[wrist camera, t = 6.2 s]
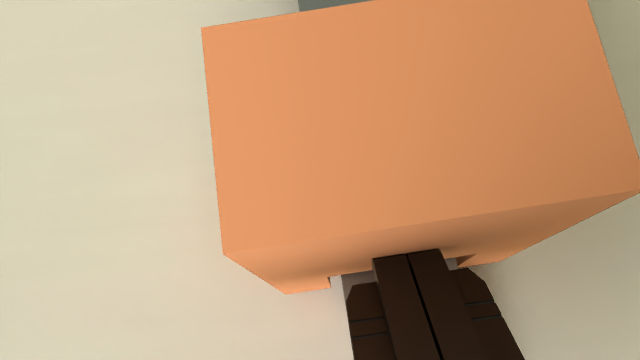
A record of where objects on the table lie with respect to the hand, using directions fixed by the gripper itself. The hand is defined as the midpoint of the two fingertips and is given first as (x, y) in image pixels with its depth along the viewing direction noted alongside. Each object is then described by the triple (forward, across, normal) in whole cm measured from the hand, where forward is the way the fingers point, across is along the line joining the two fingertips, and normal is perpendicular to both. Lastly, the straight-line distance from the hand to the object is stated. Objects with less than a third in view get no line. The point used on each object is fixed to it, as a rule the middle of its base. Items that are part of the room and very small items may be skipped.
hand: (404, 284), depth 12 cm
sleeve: (+5, 0, +2) cm, 5 cm away
